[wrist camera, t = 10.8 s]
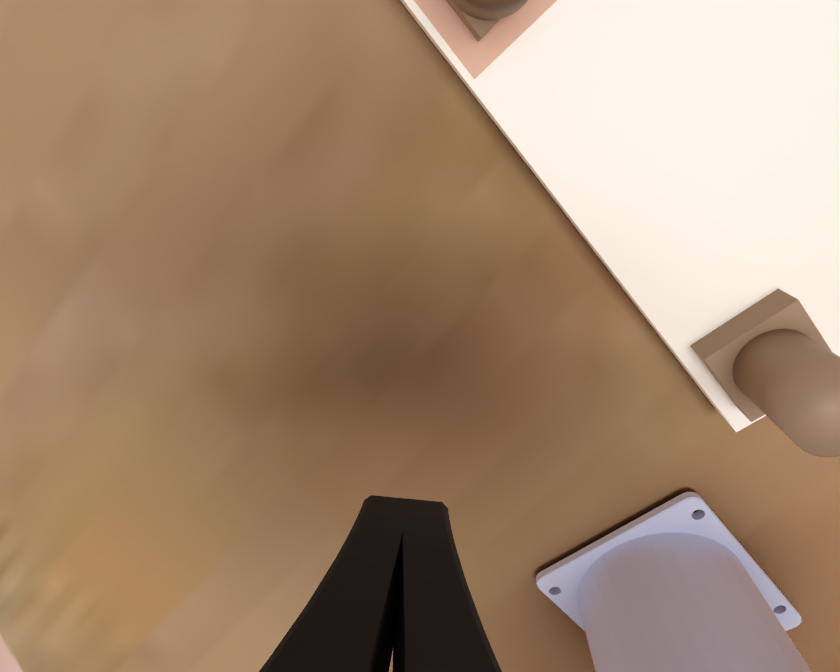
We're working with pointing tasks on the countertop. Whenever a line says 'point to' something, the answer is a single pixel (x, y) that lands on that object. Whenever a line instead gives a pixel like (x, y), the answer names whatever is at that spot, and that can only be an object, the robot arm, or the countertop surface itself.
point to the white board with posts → (690, 175)
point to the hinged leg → (484, 13)
